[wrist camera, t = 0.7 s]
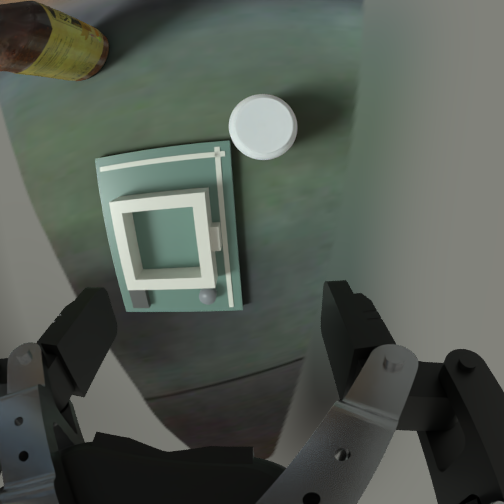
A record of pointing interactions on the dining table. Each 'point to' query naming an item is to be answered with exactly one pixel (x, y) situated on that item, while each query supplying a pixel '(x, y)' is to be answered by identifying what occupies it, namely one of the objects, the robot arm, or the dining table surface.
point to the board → (173, 227)
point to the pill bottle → (263, 126)
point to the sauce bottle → (49, 43)
